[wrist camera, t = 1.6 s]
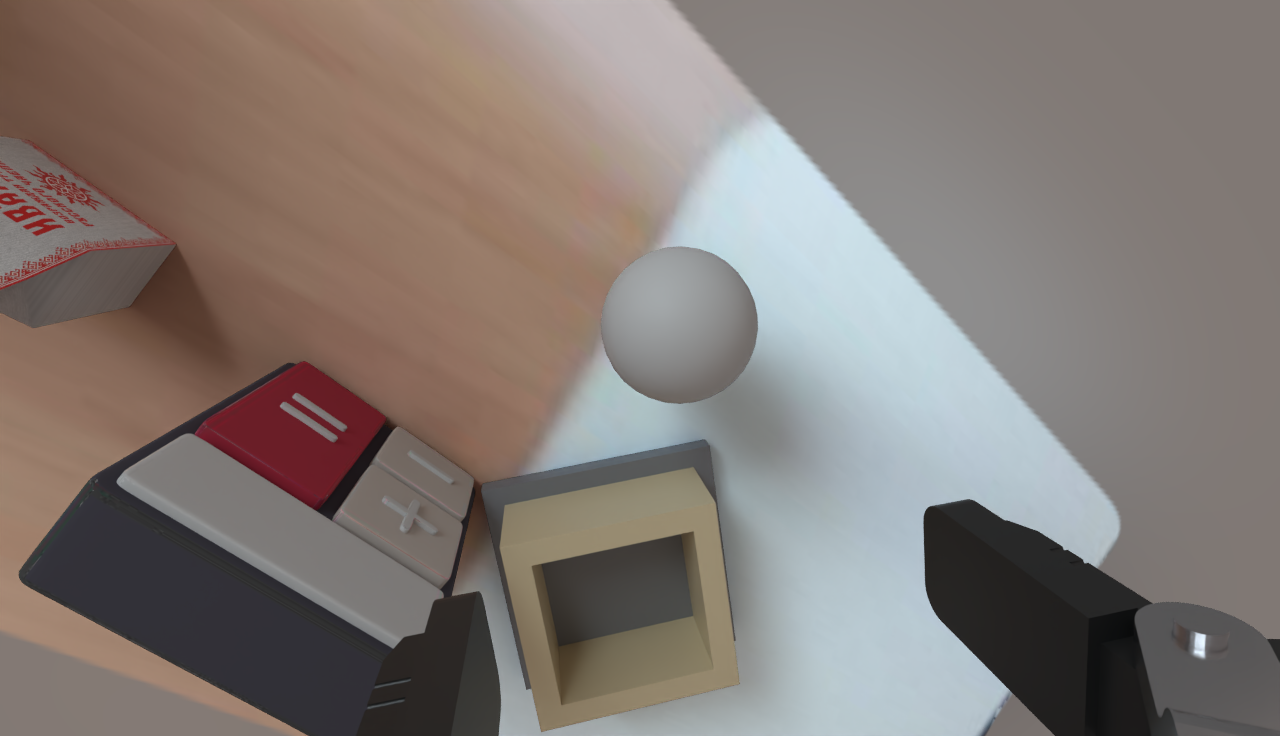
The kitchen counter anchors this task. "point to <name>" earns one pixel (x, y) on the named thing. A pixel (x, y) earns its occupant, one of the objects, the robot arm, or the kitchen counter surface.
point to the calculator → (267, 547)
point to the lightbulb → (679, 325)
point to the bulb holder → (615, 582)
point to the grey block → (66, 242)
